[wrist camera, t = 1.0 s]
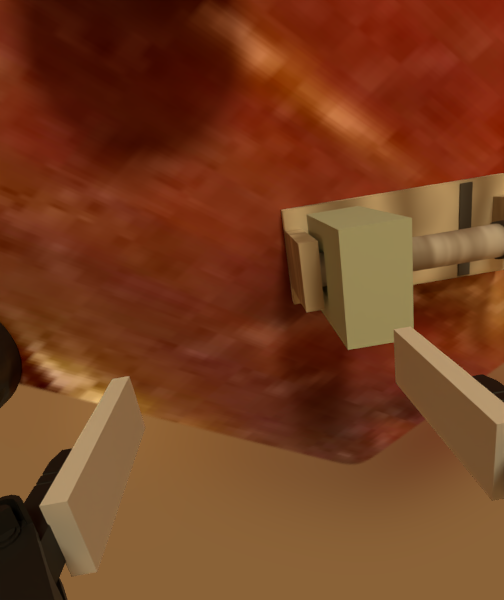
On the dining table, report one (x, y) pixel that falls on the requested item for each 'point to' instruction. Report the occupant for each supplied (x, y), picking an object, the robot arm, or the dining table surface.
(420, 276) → the rail stand
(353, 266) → the square sliding block
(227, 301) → the dining table surface
